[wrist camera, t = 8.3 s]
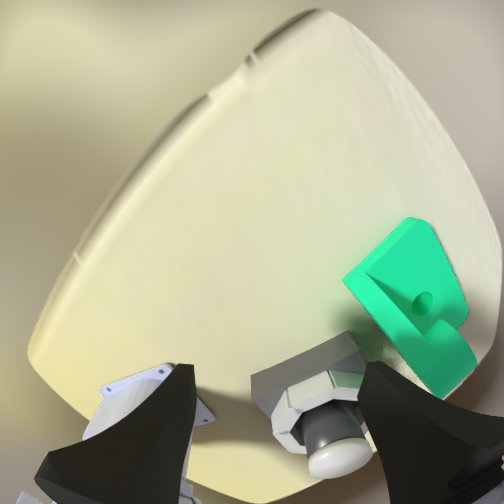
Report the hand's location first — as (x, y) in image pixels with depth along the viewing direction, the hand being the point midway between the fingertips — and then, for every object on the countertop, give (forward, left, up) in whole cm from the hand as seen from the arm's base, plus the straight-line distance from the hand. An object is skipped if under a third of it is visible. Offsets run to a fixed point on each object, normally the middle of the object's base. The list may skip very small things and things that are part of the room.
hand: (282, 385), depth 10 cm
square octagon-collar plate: (0, -11, -10) cm, 15 cm away
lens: (0, -11, -7) cm, 13 cm away
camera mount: (+11, -6, -11) cm, 16 cm away
